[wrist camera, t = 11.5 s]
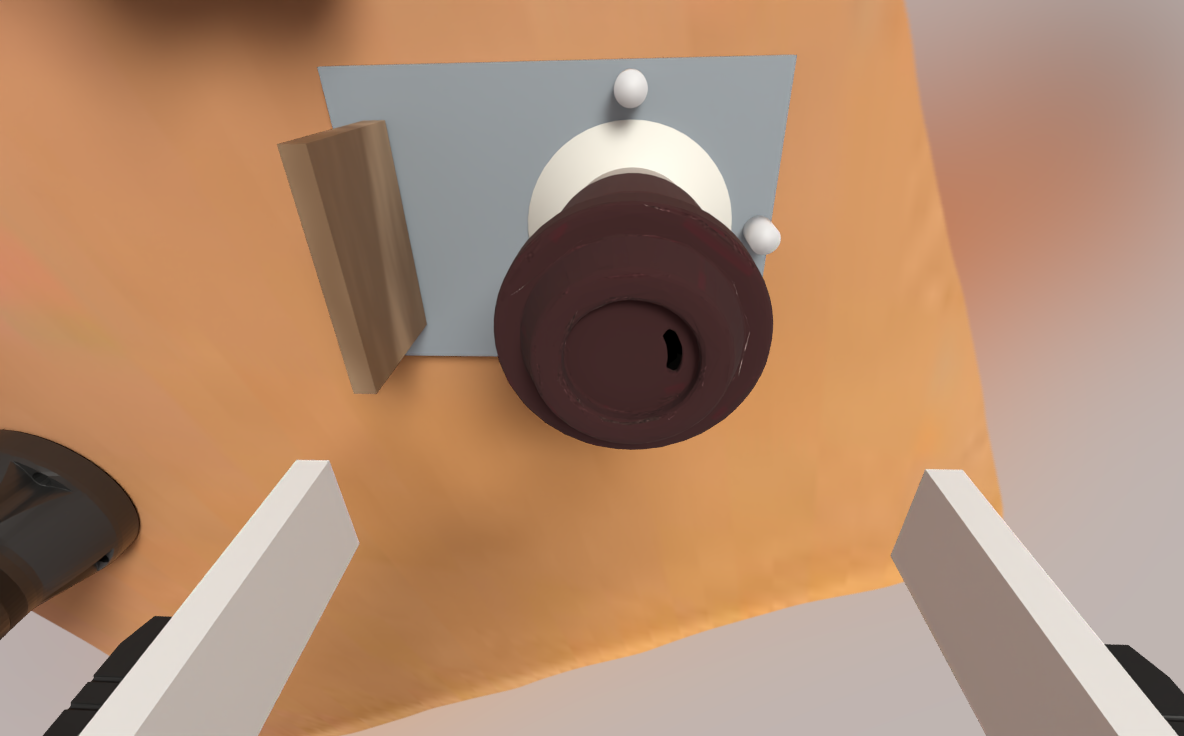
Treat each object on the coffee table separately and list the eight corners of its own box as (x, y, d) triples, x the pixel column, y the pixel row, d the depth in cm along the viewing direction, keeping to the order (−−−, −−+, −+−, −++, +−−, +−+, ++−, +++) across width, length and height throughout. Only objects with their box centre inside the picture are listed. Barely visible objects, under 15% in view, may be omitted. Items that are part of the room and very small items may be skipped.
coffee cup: (520, 270, 32) (446, 420, 19) (586, 104, 27) (546, 155, 14) (665, 334, 33) (687, 512, 21) (753, 188, 29) (853, 303, 16)
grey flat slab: (397, 346, 37) (378, 370, 34) (328, 66, 28) (296, 68, 25) (747, 349, 35) (757, 375, 33) (792, 54, 26) (811, 55, 24)
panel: (384, 324, 34) (324, 393, 27) (333, 121, 28) (238, 144, 21) (427, 324, 34) (376, 393, 27) (385, 120, 28) (306, 143, 21)
